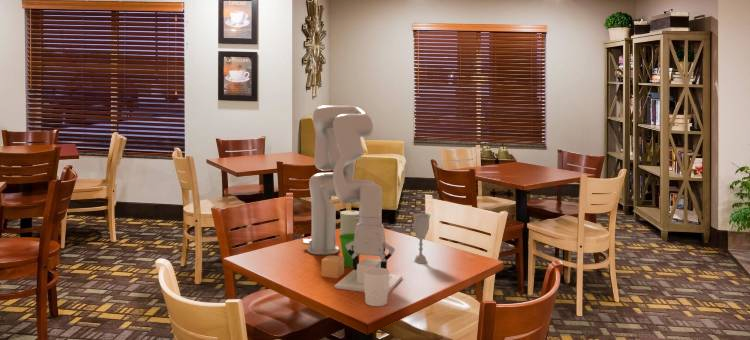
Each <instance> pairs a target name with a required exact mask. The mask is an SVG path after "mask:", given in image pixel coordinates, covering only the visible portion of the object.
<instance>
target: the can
mask: <svg viewBox="0 0 750 340" xmlns="http://www.w3.org/2000/svg"><path fill="white" fill-rule="evenodd" d="M339 214H340V233H339V234H340V235H342V234H348V233H354V234H355V229H356V225H357V224H358V220H355V216H359V210H352V209H351V210H350V209H349V210H342V211H340V213H339ZM340 235H339V236H340Z"/></svg>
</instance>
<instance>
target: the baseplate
mask: <svg viewBox="0 0 750 340" xmlns="http://www.w3.org/2000/svg"><path fill="white" fill-rule="evenodd" d="M402 279H403V275H401V274H393V273H389V288H388V294H389V293H390V292H392V290H393V289H394V288H395V286H396V285H398V283H400V281H401V280H402ZM334 288H335V289H338V290H339V289H340V290H346V291H347V290H349V291H355V292H362V293H363V292H364V293H365V288H364V283H360V282H357V270H354V269H353V270H351V271H350V272H349V273H348V274H346V276H344V277H343V278H342V279H341V280H339V281H338V282H337V283H336V284H334Z"/></svg>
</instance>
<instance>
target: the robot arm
mask: <svg viewBox="0 0 750 340" xmlns="http://www.w3.org/2000/svg"><path fill="white" fill-rule="evenodd" d="M312 114H313V115H312V125H313V128H314V133H315V144H314V166H315V168H316V169H317V170H319V171H329V172H318V173H315V174H313V175H312V176H311V177H310V178H309V180H308V184H309V185H308V186H309V188H308V189H309V191H310V192H309V193H310V202H311V238H310V239H308V238H303V240H302V244H303V246H309V247H307V252H308V253H310V254H312V255H318V256H328V255H329V256H331V255H334V254H336V253H339V252H340V247H339V246H338V245H336V223H337V222H336V215H337V214H336V206H335V204H334V202H333V200H331V199H330V198H331V197H337V200H339V201H340V203H344V204H353V203H359V204H358V211H359V216H355V220H358V224H357V225H356V229H355V237H354V241H352V242H350V243H347V244H346V245H345V246H346V248H347V250H348V253H349V254H350V255H351V256H352V258H353V267H352V268H353V270H357V264H359V263H360V256H359V257H358V254H360V255H361V256H370V257H371V256H372V257H379V258H380V260H382V261H381V268H385V269H387V268H388V267H387V266H388V265H387V264H388V263H387V262H388V260H389V259H390V258H391V257H392V256H393V254H394V252H395V251H396V249H395V248H394V247H393V246H391V245H390V244H388V243H387V242H386V234H385V227H384V224H383V223H382V220H383V219H382V218H383V217H382V212H383V211H382V207H383V206H382V205H383V187H382V186H381V185H380V184H379V183H375V182H374V181H373V180H371V179H358V180H357V179H355V180H354V178H355V177H354V176H355V164H356V161H358V160H360V158H361V157H362V156H363V155H364V153H365V151H364V147H363V143H362V140H361V138H366V137H369V136H371V135H372V133H373V129H374V125H373V121H372V118H371V117H370V115H369V114H368V113H367V112H366V111H364V110H363V109H362V108H360V107H358V106H355V105H321V106H318V107H316V108H315V109H314V111H313V113H312ZM331 171H333V172H331ZM352 245H354V251H353V249H352V248H351V246H352ZM386 250H388V253H385V252H386ZM387 270H388V269H387Z"/></svg>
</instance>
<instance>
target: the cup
mask: <svg viewBox="0 0 750 340" xmlns="http://www.w3.org/2000/svg"><path fill="white" fill-rule="evenodd" d="M354 237H355V234H354V233H348V234H342V235H339V236H338V238H339V241H340V246H341V248H340V249H341V253H342V257H344V267H346V268H354V267H353V258H352V256H351V255H350V254H349V253H348V250H347V248H346V246H345V245H346V244H347V243H350V242H352V241H354ZM351 248H352V249H353V251H354V245H352V246H351ZM360 255H361V254H358V257H359V258H360Z"/></svg>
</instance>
